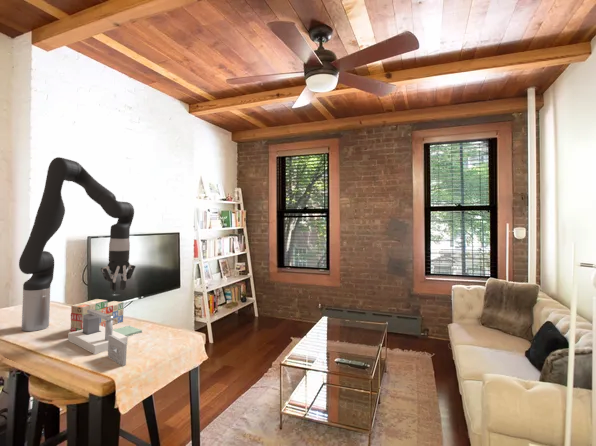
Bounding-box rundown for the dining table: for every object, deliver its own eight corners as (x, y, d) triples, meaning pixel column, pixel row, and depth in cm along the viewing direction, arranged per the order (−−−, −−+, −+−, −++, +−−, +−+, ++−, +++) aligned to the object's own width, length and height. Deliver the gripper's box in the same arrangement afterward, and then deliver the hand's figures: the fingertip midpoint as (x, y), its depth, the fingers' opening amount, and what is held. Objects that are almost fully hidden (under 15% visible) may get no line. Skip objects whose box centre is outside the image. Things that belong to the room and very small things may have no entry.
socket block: (68, 340, 127) (69, 314, 127) (100, 332, 137) (100, 308, 137) (94, 354, 116) (95, 325, 116) (127, 344, 126) (128, 318, 126)
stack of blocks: (112, 319, 154) (113, 294, 154) (123, 321, 153) (124, 295, 153) (69, 334, 134) (71, 305, 134) (81, 336, 132) (82, 306, 132)
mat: (106, 333, 136) (106, 331, 136) (129, 327, 145) (129, 325, 145) (118, 338, 131) (118, 336, 131) (142, 332, 139) (142, 330, 139)
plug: (82, 339, 129) (83, 314, 129) (93, 336, 132) (94, 312, 132) (87, 341, 126) (88, 316, 126) (98, 338, 130) (99, 314, 130)
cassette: (127, 365, 109) (128, 342, 109) (121, 366, 107) (122, 344, 107) (111, 355, 116) (112, 333, 116) (106, 356, 114) (107, 335, 114)
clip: (114, 319, 122) (114, 316, 122) (107, 321, 120) (107, 317, 120) (93, 311, 131) (93, 308, 131) (86, 312, 129) (86, 310, 129)
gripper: (130, 247, 142) (129, 286, 142) (97, 249, 130) (95, 291, 130) (140, 249, 138) (139, 289, 138) (106, 250, 126) (104, 294, 126)
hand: (117, 290), depth 134 cm, fingers open, 3 cm apart
